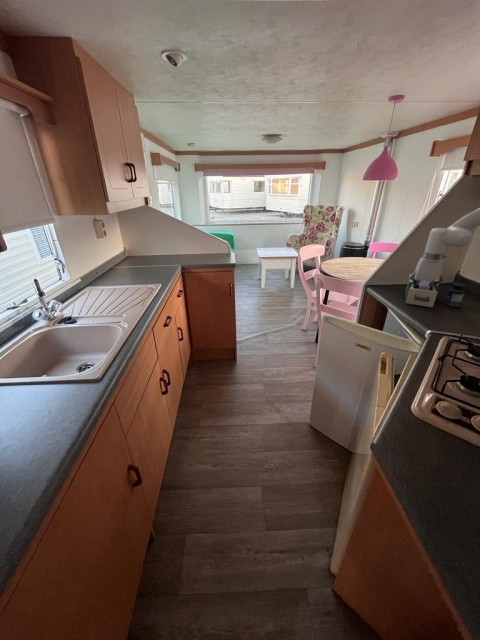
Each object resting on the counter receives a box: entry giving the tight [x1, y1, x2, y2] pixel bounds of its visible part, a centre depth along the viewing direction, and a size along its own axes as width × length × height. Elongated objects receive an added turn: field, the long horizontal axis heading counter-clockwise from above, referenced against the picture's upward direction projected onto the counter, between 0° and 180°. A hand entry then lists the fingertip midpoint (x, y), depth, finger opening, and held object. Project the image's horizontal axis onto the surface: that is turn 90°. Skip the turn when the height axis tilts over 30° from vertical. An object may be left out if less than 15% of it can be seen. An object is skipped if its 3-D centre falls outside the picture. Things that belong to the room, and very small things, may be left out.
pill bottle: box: [444, 282, 466, 308], centre depth 129 cm, size 6×6×11 cm
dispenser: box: [404, 273, 440, 300], centre depth 141 cm, size 15×13×10 cm
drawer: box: [405, 283, 439, 308], centre depth 132 cm, size 18×11×8 cm, turn 149°
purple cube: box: [419, 283, 430, 290], centre depth 131 cm, size 4×4×4 cm
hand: (421, 292), depth 132 cm, fingers closed on purple cube, 4 cm apart
